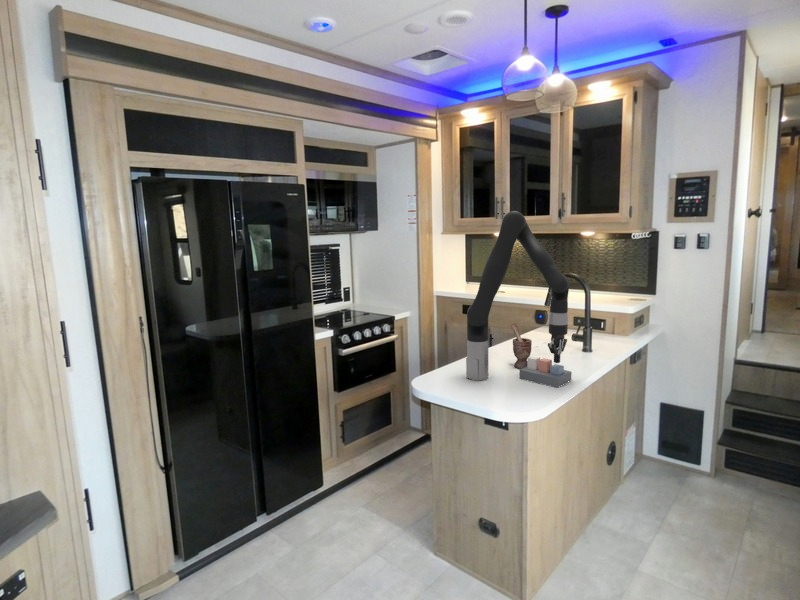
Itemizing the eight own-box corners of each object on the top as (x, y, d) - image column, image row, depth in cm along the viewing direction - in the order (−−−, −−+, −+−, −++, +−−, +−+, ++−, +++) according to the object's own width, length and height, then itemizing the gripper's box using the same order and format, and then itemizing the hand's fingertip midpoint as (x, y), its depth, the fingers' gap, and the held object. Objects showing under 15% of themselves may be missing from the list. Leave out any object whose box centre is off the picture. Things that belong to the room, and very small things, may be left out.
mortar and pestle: (503, 365, 229) (503, 325, 226) (513, 361, 235) (514, 322, 232) (524, 370, 221) (525, 328, 218) (534, 366, 227) (535, 325, 223)
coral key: (547, 373, 204) (547, 361, 203) (538, 371, 207) (538, 360, 206) (551, 370, 207) (552, 359, 206) (543, 369, 210) (543, 358, 209)
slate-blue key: (559, 379, 201) (559, 368, 200) (550, 377, 203) (550, 366, 203) (563, 377, 203) (563, 365, 203) (554, 375, 206) (555, 364, 205)
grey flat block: (557, 387, 197) (557, 378, 196) (519, 378, 210) (519, 369, 209) (571, 380, 205) (571, 371, 205) (533, 372, 218) (533, 363, 217)
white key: (535, 370, 208) (535, 359, 207) (527, 368, 211) (527, 357, 210) (540, 368, 211) (540, 357, 210) (532, 366, 214) (532, 355, 213)
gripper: (559, 326, 192) (557, 367, 195) (574, 321, 201) (572, 360, 204) (542, 323, 197) (540, 364, 200) (557, 318, 207) (556, 357, 209)
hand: (556, 362), depth 202 cm, fingers closed
